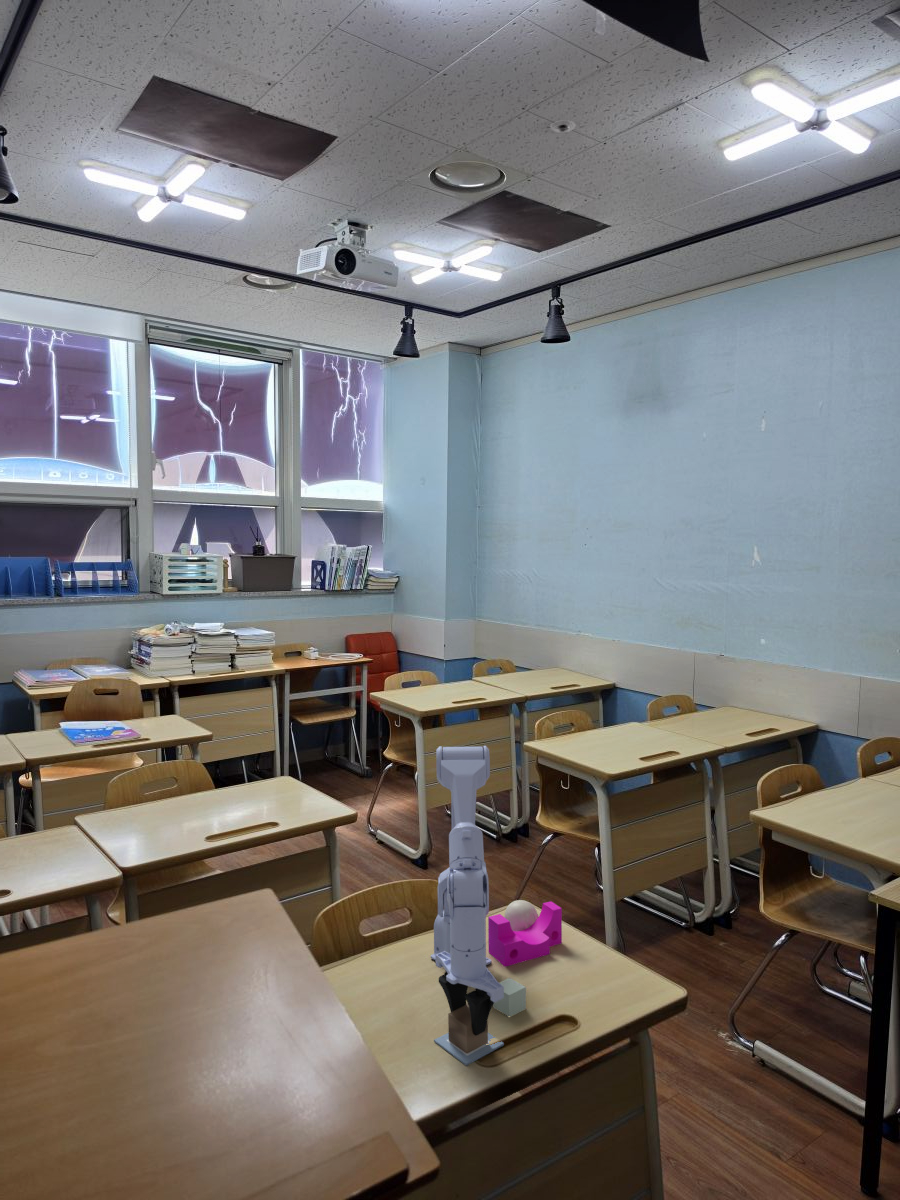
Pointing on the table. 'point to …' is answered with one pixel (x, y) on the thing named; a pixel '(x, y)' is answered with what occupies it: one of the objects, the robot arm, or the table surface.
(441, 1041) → the pad
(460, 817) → the robot arm
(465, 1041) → the walnut cube
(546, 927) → the toy block
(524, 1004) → the sage cube
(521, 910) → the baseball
